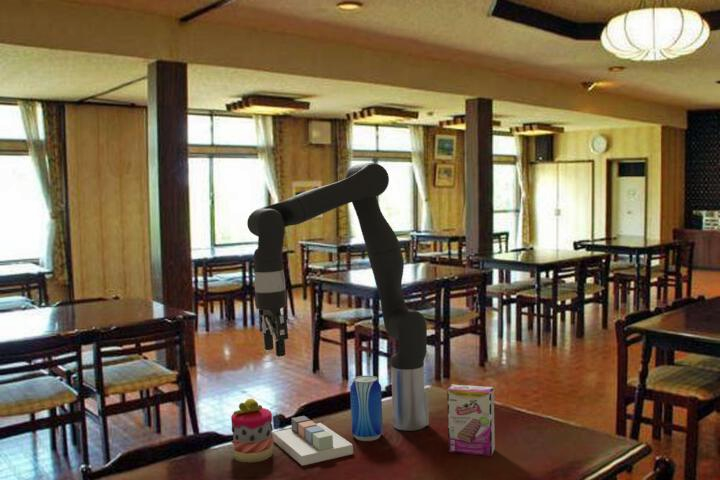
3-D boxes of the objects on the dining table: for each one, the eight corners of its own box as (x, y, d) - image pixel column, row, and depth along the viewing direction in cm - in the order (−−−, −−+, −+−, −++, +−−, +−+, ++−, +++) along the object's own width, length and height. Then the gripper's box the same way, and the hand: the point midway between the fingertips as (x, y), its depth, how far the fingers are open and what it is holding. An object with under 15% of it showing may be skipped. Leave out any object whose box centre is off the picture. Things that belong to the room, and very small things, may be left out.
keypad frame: (320, 431, 190) (320, 422, 190) (353, 453, 172) (352, 444, 172) (273, 441, 184) (273, 432, 183) (302, 465, 166) (301, 456, 166)
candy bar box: (447, 453, 170) (446, 389, 169) (451, 446, 175) (450, 383, 174) (492, 457, 167) (491, 391, 166) (495, 449, 172) (494, 386, 170)
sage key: (326, 446, 174) (326, 430, 174) (333, 450, 171) (332, 435, 170) (313, 449, 172) (312, 433, 172) (319, 453, 169) (318, 438, 169)
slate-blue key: (319, 440, 178) (318, 425, 178) (325, 444, 175) (324, 429, 175) (305, 443, 177) (305, 428, 176) (311, 447, 173) (311, 432, 173)
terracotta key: (311, 435, 183) (311, 420, 182) (317, 439, 179) (317, 424, 179) (298, 437, 181) (298, 423, 181) (304, 442, 177) (303, 427, 177)
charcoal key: (304, 429, 187) (304, 415, 187) (310, 433, 183) (309, 419, 183) (292, 432, 185) (291, 418, 185) (297, 436, 182) (296, 422, 181)
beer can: (380, 442, 180) (377, 383, 178) (349, 441, 181) (346, 382, 180) (385, 431, 188) (383, 374, 187) (355, 430, 189) (353, 374, 188)
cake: (228, 452, 177) (225, 395, 176) (267, 444, 181) (265, 389, 180) (237, 466, 167) (234, 406, 166) (279, 458, 171) (276, 399, 170)
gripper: (294, 290, 164) (299, 355, 166) (274, 284, 177) (279, 345, 178) (265, 293, 161) (270, 361, 162) (247, 287, 174) (251, 350, 175)
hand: (274, 352), depth 170 cm, fingers open, 8 cm apart
